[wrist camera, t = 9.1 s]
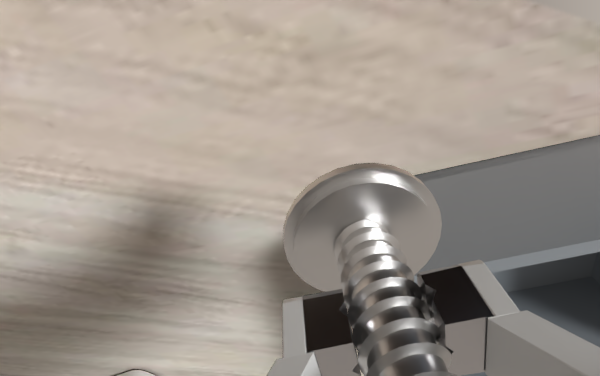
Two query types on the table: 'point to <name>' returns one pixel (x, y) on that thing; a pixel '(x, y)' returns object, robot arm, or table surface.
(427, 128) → the table surface
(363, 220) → the screw
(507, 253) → the tote
